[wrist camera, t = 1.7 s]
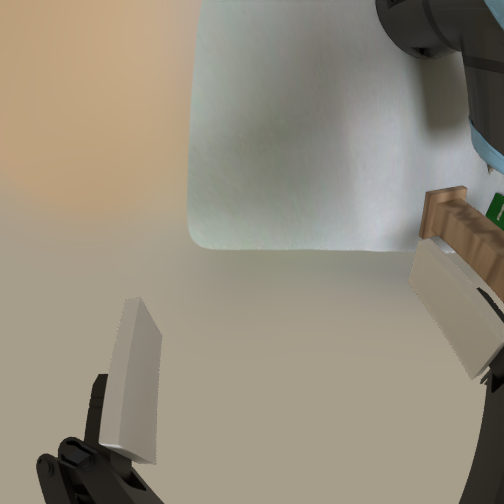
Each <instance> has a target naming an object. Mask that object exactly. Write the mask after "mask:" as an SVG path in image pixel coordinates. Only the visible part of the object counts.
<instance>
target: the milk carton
mask: <svg viewBox="0 0 504 504" xmlns="http://www.w3.org/2000/svg"><path fill="white" fill-rule="evenodd" d="M486 216H487V217H488V218H489V219H490V220H491V221H492V222H493V223H494V224H495V225H497V226H498V227H499V228H500V229H501V230H503V231H504V196H502V195H500V194H498V193H496V194H495V196H494V198H493V201H492V203H491V205H490V207H489V209H488V211H487V214H486Z"/></svg>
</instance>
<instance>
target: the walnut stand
mask: <svg viewBox="0 0 504 504" xmlns="http://www.w3.org/2000/svg"><path fill="white" fill-rule="evenodd" d="M466 193H467V188H466V187H464V186H457V187H452V188H446V189H440V190H435V191H429V192H426V196H425V203H424V210H423V216H422V222H421V227H420V232H419V236H420V237H421V238H422V239H426V238H429V237H433V236H436V235H438V236H439V237H440V238H442V239H443V240H444V241H445V242H446V243H447V244H448V245H449V246H450V247H451V248H452V249H453V250H454V251H455V252H456V253H457V254H459V255H460V256H461V257H462V258H463V259H464V260H465V261H466V262H467V263H468V264H469V265H470V266H471V267H472V268H473V269H474V271H475V272H476V273H477V274H478V275H479V276H480V277H481V278H482V279H483V280H484V281H485V282H486V283H487V285H488V286H489V287H491V289H492V290H493V291H494V292H495V293H496V295H497V296H498V297H499V298H500V299H501V300H502V302H503V303H504V231H503V230H501V229H500V228H499V227H498V226H497V225H495V224H494V223H493V222H492V221H490V220H489V219H488V218H487V217H485V216H484V215H483V214H481V213H480V212H479V211H478V210H476V209H475V208H473V207H472V206H471V205H469V204H468V203H467V202H465V198H466Z"/></svg>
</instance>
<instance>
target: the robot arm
mask: <svg viewBox="0 0 504 504" xmlns="http://www.w3.org/2000/svg"><path fill="white" fill-rule="evenodd" d="M376 7H377V12H378V15H379V18H380V21H381V23H382V25H383V27H384V29H385V30H386V32H387V34H388V35H389V36H390V38H391V39H392V40H393V41H394V42H395V44H396V45H397V46H399V47H400V48H401V49H402V50H403V51H405V52H406V53H408V54H410V55H412V56H414V57H417V58H424V59H436V58H440V57H443V56H445V55H448V54H451V53H454V52H456V51H460V52H462V57H463V63H464V69H465V76H466V82H467V90H468V100H469V123H470V126H471V139H472V144H473V147H474V149H475V150H476V152H477V153H478V154H479V156H480V157H481V158H482V159H483V160H484V161H485V162H486V163H487V164H488V165H490V166H491V167H492V168H494V169H495V170H497V171H499V172H500V173H502V174H504V0H376ZM408 283H409V285H410V286H411V288H412V289H413V290H414V292H415V293H416V295H417V296H418V297H419V299H420V300H421V301H422V303H423V304H424V306H425V307H426V309H427V310H428V311H429V313H430V314H431V316H432V317H433V319H434V320H435V322H436V323H437V325H438V326H439V328H440V329H441V331H442V332H443V334H444V335H445V337H446V338H447V340H448V341H449V343H450V345H451V346H452V348H453V350H454V351H455V353H456V355H457V356H458V358H459V360H460V361H461V363H462V365H463V366H464V368H465V370H466V372H467V373H468V375H469V377H470V379H471V380H472V379H474V378H475V377H477V376H479V375H480V374H482V373H483V371H484V370H485V369H486V368H487V367H488V366H489V367H490V370H489V371H488V372H487V373H486V374H485V376H484V377H483V378H482V379H481V382H480V384H482V383H483V382H484V381H485V380H486V379H487V381H486V382H485V385H487V389H486V399H485V406H484V413H483V418H482V424H481V429H480V434H479V439H478V444H477V448H476V452H475V456H474V459H473V463H472V467H471V470H470V473H469V477H468V479H467V482H466V485H465V488H464V491H463V494H462V497H461V499H460V502H459V504H504V314H503V312H502V311H501V310H500V309H499V308H498V306H497V305H496V303H494V301H493V300H492V298H491V297H490V296H489V295H488V294H487V293H486V292H485V291H483V290H482V289H480V288H475V286H474V285H473V284H472V283H471V282H470V281H469V279H468V278H467V277H466V276H465V275H464V274H463V273H462V272H461V270H460V269H459V268H458V267H457V266H456V265H455V264H454V263H453V262H452V261H451V260H450V259H449V257H448V256H447V255H446V254H445V253H444V252H443V251H442V250H441V249H440V248H439V247H438V246H437V245H436V244H435V243H434V242H433V241H432V240H431V239H430V238H429V239H424V240H420V241H419V242H418V246H417V250H416V254H415V259H414V262H413V266H412V270H411V274H410V278H409V281H408ZM161 343H162V334H161V333H160V331H159V329H158V328H157V326H156V324H155V322H154V321H153V319H152V317H151V315H150V313H149V312H148V310H147V308H146V306H145V304H144V302H143V301H142V299H141V297H137V298H131V299H126V300H125V303H124V307H123V311H122V315H121V319H120V323H119V327H118V331H117V336H116V340H115V344H114V349H113V353H112V358H111V363H110V369H109V374H99V375H98V377H97V379H96V380H95V382H94V384H93V387H92V393H91V399H90V403H89V406H90V408H89V409H88V415H87V422H86V429H85V437H84V442H83V441H81V440H80V439H77V438H76V437H68V438H66V439H64V440H63V441H62V442H61V443H60V446H59V448H58V457H57V458H56V457H54V456H52V455H50V454H43V455H41V456H40V457H39V459H38V460H37V464H36V469H37V474H38V478H39V482H40V486H41V489H42V493H43V496H44V499H45V502H46V504H164V503H163V502H162V501H161V500H160V498H158V496H157V495H156V494H155V493H154V492H153V491H152V490H151V488H150V487H149V486H148V485H147V484H146V483H145V481H144V480H143V479H142V478H141V477H140V475H139V474H138V473H137V472H136V470H135V469H134V468H133V467H132V466H131V465H132V464H131V463H132V462H131V461H134V462H136V463H138V464H156V424H157V422H156V421H157V397H158V381H159V367H160V354H161Z"/></svg>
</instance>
